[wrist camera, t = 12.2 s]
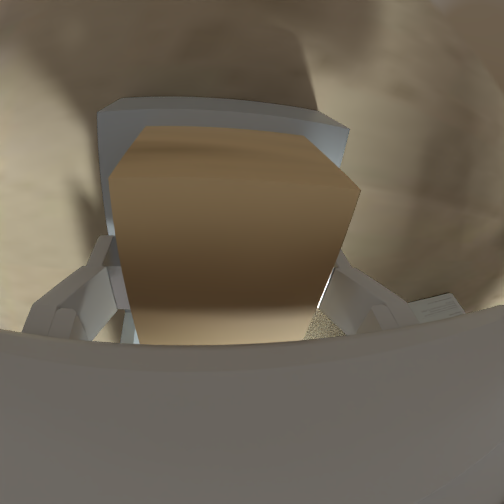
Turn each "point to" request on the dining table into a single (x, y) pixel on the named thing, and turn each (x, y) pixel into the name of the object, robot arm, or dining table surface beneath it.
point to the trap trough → (203, 115)
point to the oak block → (226, 233)
